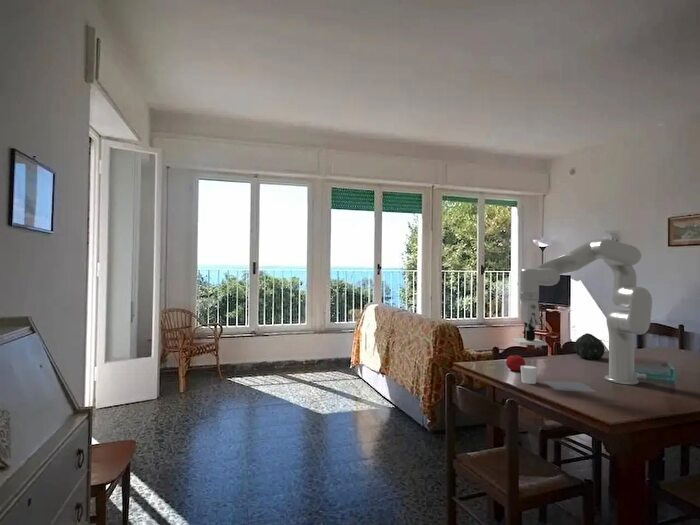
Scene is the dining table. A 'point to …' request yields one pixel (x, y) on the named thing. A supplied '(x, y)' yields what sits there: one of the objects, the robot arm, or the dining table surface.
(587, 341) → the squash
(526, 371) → the white cylinder
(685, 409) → the dining table surface
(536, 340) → the lid
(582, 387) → the mat
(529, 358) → the dining table surface
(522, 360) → the tomato
